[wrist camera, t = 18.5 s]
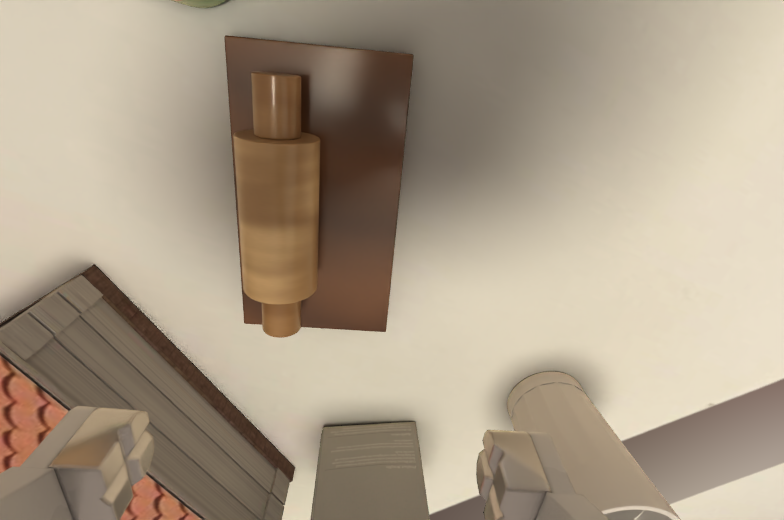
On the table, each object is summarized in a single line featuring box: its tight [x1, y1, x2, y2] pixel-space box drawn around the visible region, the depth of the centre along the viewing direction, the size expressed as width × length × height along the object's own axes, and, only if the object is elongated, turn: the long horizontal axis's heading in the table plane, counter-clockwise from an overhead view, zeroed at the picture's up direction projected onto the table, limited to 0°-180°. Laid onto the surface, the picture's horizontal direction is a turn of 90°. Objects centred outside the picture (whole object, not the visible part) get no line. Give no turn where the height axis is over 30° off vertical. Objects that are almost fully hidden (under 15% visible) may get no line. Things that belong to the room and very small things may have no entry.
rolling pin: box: [233, 72, 320, 337], centre depth 24 cm, size 15×4×4 cm, turn 175°
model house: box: [0, 265, 295, 520], centre depth 28 cm, size 24×16×15 cm, turn 30°
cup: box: [507, 371, 681, 520], centre depth 30 cm, size 8×8×12 cm
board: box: [225, 36, 413, 332], centre depth 27 cm, size 18×10×2 cm, turn 175°
